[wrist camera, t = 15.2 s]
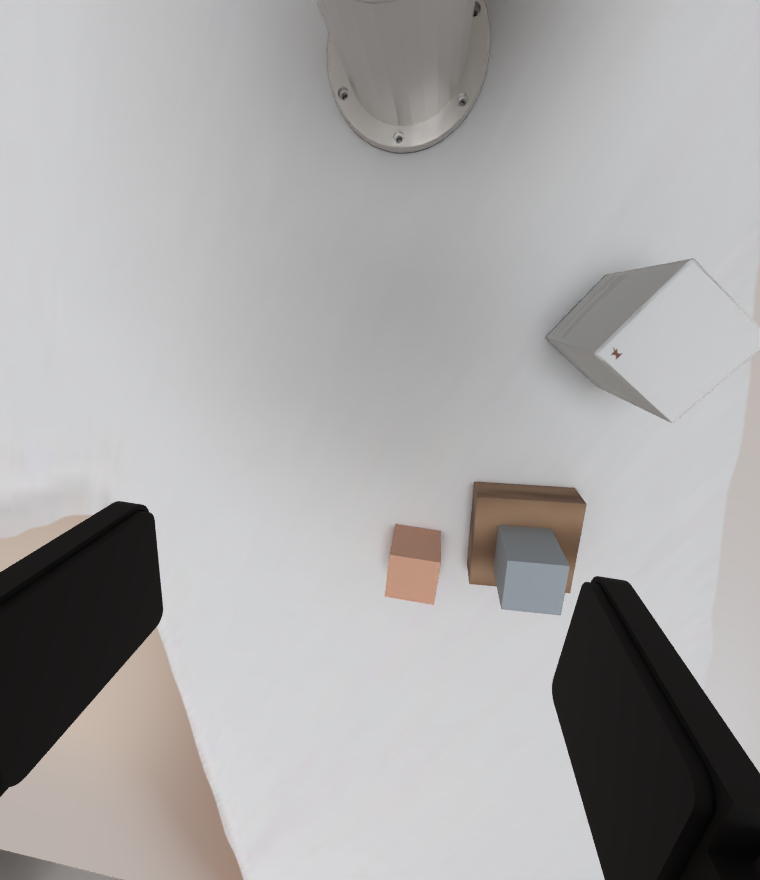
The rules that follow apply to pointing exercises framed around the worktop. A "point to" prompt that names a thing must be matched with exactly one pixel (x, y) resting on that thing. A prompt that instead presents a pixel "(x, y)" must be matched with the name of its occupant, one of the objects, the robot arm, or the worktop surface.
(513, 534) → the grey block
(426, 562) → the terracotta block
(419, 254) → the worktop surface
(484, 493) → the walnut base
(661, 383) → the supplement box
